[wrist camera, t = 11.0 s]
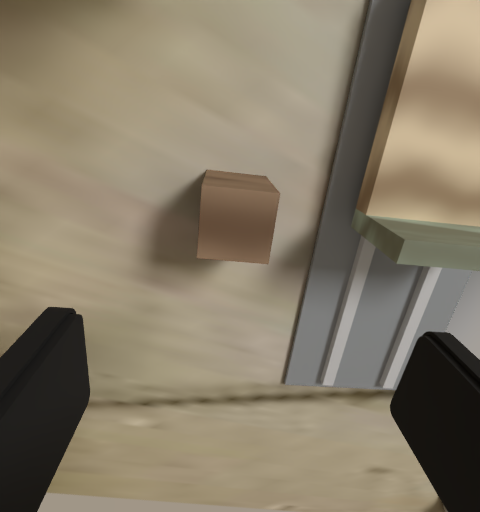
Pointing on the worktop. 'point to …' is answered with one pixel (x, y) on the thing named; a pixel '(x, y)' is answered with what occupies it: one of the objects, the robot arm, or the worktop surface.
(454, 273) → the rail track
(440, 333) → the robot arm
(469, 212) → the multicoloured piece
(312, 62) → the worktop surface
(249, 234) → the walnut block
